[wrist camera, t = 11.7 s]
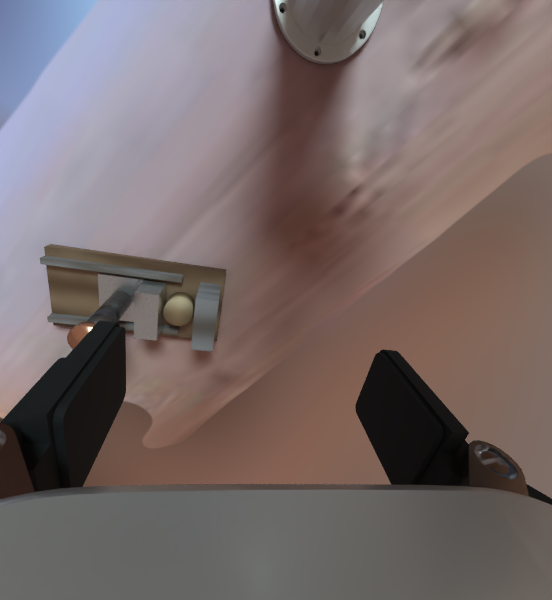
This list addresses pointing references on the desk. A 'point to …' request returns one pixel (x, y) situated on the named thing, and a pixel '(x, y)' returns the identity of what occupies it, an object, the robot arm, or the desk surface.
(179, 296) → the beige rounded dome
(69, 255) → the press frame
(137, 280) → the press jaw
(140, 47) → the desk surface
